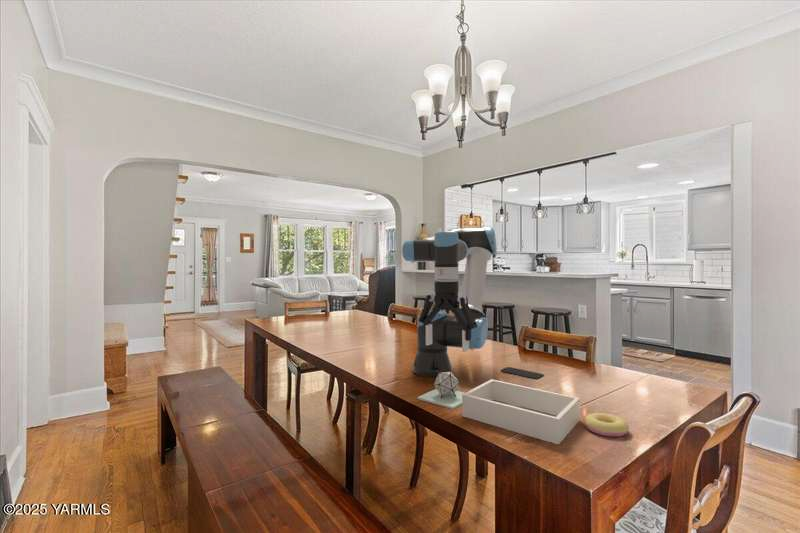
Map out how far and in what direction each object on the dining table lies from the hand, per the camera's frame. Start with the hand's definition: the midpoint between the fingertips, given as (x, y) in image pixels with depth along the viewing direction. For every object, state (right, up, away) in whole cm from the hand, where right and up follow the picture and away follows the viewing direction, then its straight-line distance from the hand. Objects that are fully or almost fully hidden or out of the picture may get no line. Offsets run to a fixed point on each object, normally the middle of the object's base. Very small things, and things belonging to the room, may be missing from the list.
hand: (446, 347), depth 120 cm
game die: (0, -16, 0) cm, 16 cm away
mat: (0, -16, 0) cm, 16 cm away
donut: (+38, -17, -23) cm, 47 cm away
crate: (+18, -16, -15) cm, 29 cm away
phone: (+32, -16, +26) cm, 45 cm away
